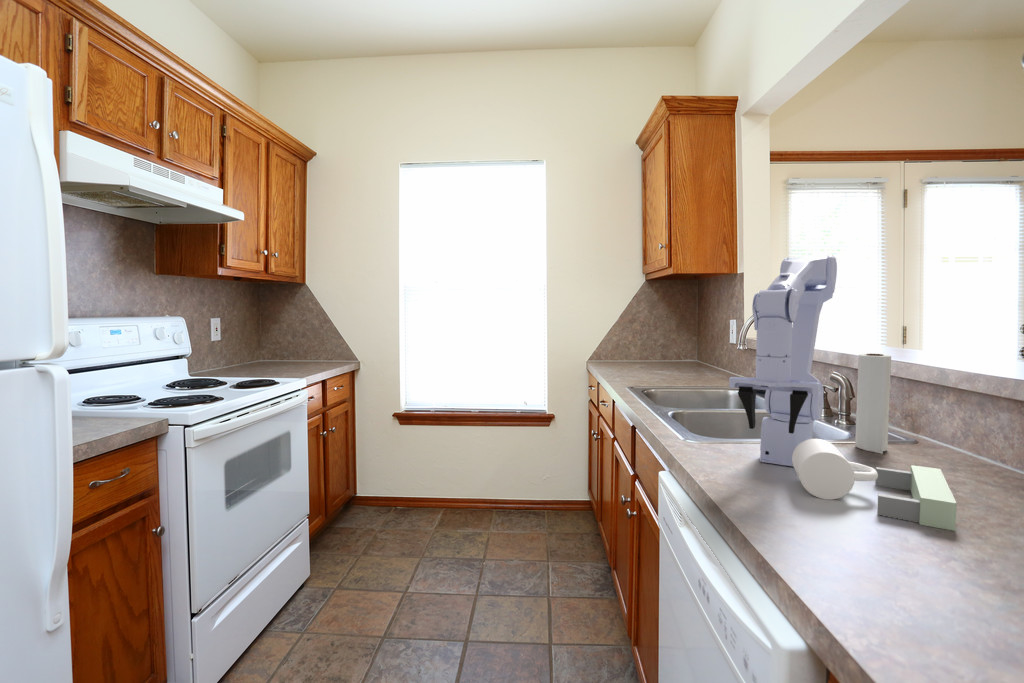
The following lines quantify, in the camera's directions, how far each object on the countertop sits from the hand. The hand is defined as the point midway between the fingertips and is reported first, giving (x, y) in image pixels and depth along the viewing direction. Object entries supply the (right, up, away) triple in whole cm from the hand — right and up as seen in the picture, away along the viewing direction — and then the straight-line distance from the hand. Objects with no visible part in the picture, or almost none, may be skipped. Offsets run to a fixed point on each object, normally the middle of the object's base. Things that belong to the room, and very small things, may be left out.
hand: (771, 430), depth 95 cm
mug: (+8, -10, -5) cm, 14 cm away
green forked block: (+17, -10, -11) cm, 23 cm away
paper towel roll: (+33, -8, +22) cm, 40 cm away
